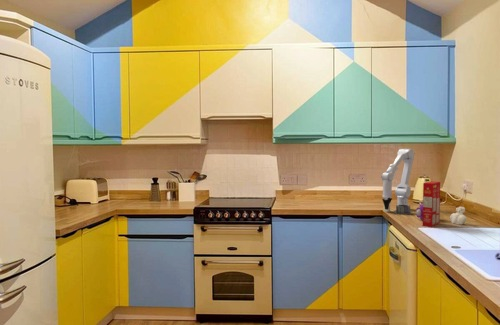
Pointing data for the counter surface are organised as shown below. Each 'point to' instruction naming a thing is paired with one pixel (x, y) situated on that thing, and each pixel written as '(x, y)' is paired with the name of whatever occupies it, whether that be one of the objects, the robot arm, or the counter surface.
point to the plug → (387, 209)
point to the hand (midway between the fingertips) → (387, 208)
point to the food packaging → (431, 203)
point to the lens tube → (403, 210)
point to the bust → (458, 216)
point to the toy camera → (419, 211)
